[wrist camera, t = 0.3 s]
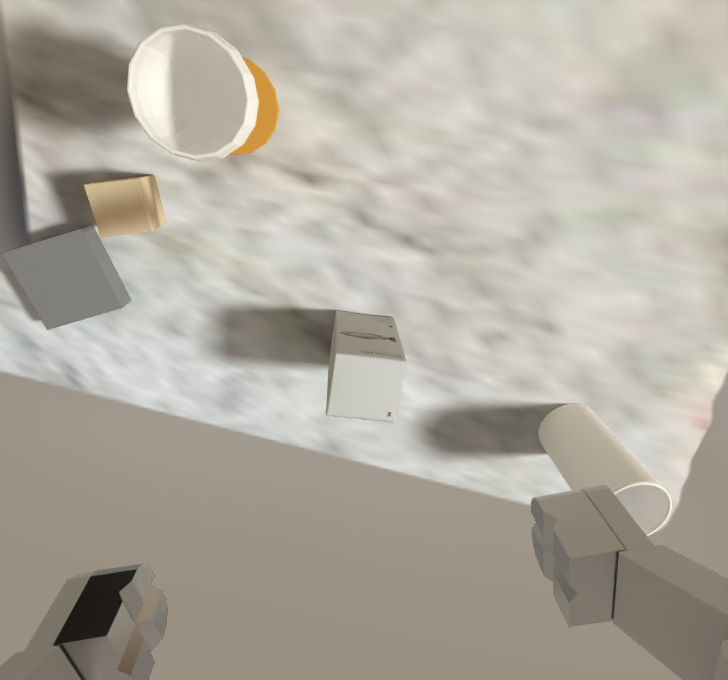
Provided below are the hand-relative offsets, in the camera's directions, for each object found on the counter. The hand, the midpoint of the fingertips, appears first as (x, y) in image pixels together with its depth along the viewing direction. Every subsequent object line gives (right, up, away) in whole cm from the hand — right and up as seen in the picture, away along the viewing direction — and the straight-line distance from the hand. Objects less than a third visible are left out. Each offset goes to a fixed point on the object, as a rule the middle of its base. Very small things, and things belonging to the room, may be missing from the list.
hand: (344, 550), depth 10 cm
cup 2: (+29, -8, +56) cm, 63 cm away
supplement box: (0, +5, +49) cm, 49 cm away
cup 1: (-13, +28, +38) cm, 49 cm away
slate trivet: (-32, +12, +44) cm, 56 cm away
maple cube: (-24, +19, +41) cm, 51 cm away
